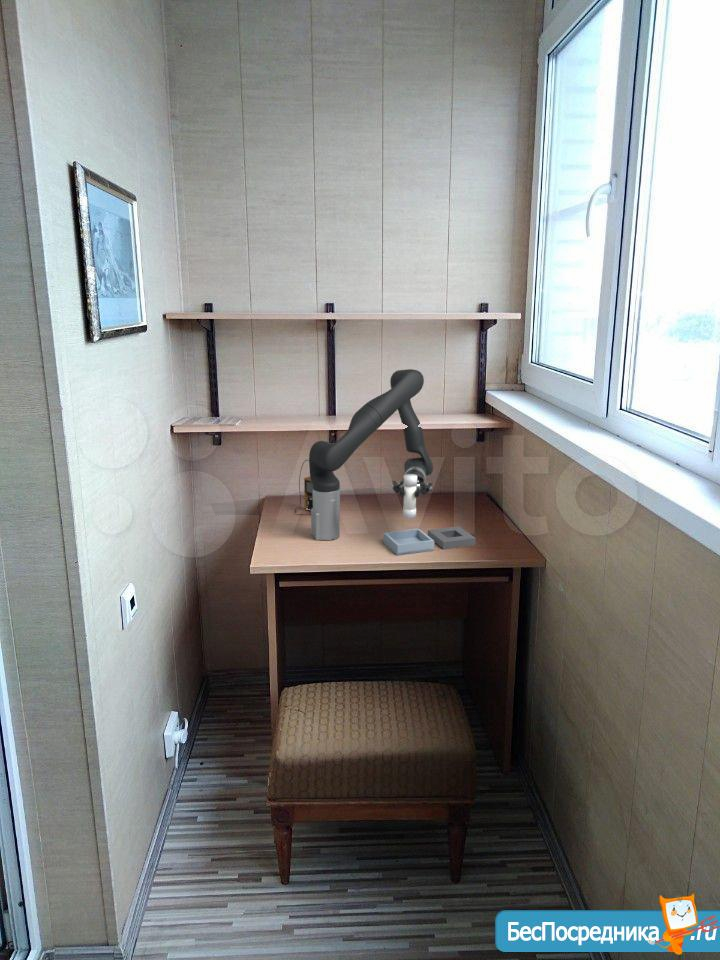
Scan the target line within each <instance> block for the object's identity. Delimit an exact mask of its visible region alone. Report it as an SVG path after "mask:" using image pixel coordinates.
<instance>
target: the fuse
mask: <svg viewBox="0 0 720 960" xmlns="http://www.w3.org/2000/svg"><path fill="white" fill-rule="evenodd" d="M403 477H404V496H403V507H402V518H404V519H409V520H412V519H417V498H415V491H416V486H417V475H415V474H405V473H404V474H403Z"/></svg>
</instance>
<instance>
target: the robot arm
mask: <svg viewBox="0 0 720 960" xmlns="http://www.w3.org/2000/svg"><path fill="white" fill-rule="evenodd" d="M389 382H390V389H389V390H387V391H385V392H384V393H382V394H379V395H378V396H376V397H374V398H373V399H370V400H369V401H368V402H366V403H365V404H364V405H362V406H361V407H360V408H359V409H358V410H357V411H356V412H355V413H354V414H353V416H352V417H351V420H350V422H349V427H348V429H347V431H346V432H345V433H344V435H342V436H341V437H340V438H339V439H338V440H336V441H335V442H333V443H332V442H329V441H326V440H319V441H316V442H314V443H313V444H312V445H311V447H310V450H309V453H308V454H309V455H308V460H309V461H308V462H309V464H308V465H309V466H308V467H309V477H310V479H311V482H312V485H313V508H312V509H311V511H310V515H311V516H310V521H311V522H310V523H311V524H310V528H311V529H310V530H311V533H310V534H311V536H312V535H313V536H312V537H313V538H314V539H315V541H319V540H320V541H332V539H334V540H337V539H338V538H340V533H341V532H340V531H341V529H340V528H341V527H340V525H341V523H340V522H341V521H340V520H341V519H340V518H341V516H340V515H341V510H340V509H341V501H340V499H341V485H340V480H339V478H338V477H337V476H336V475H335V474H334V472H335V471H338V470H339V469H340V468H342V466H343V465H344V464H345V463H346V462H347V461H348V460H349V458H350V457H351V456H352V455H353V454H354V452H355V451H356V450H357V449H358V448H359V447H360V446H361V445H362V444H363V443H365V441H367V440H368V438H369V437H370V436H371V435H373V434H374V433H375V432H376V431H377V430H378V429H379V428H381V426H383V424H384V423H385V422H386V421H387V420H388V419H389V418H390V417H392V415H393V414H395V413H396V412H398V414H399V418H400V421H401V424H402V423H403V424H405V425H407V426H408V427H407V428H405V429H403V428H402V432H403V436H404V438H403V439H404V443H405V444H404V445H405V450H406V451H407V452H408V453H413V454H417V455H420V457H412V458H409V459H406V460H405V461H404V465H403V466H404V467H403V469H404V472H405V473H404V475H405V474H415V475H417V486H416V491H415V498H416V499H418V497H420V496H421V494H422V495H423V496H426V495H427V494H429V493H431V492H432V491H433V482H428V483H426V477H428V476H430V475H431V474H433V472H434V464H433V462H432V459H431V457H430V456H429V453H428V451H427V448H426V442H425V436H424V431H423V427H422V428H421V427H418V425H419V424H420V423H421V422H420V420H419V418H418V415H416V413H415V410H414V408H413V405H412V401H411V399H412V398H413V397H415V396H416V395H417V394H419V393H420V392H421V390H422V389H423V387H424V383H425V378H424V375H423V374H422V372H421V371H419V370H417V369H413V368H411V369H409V368H408V369H398V370H396V371H394V372H393V373H392V375H391V376H390V379H389ZM391 487H392V488H391V489H393V491H394V493H395V494H398V495H399V496H400V497H401V498H404V476H403V477H402V480H401V481H400V482H398V481H396V480H393V481H392V485H391ZM336 538H337V539H336Z"/></svg>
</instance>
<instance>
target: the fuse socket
mask: <svg viewBox="0 0 720 960" xmlns="http://www.w3.org/2000/svg"><path fill="white" fill-rule="evenodd" d="M427 535H428V536H429V537H430V538H431V539H433V540H434V544H436V546H439V547H440V548H441V549H442V550H449V549H456V548H463V547H469V546H475V545H476V537H475V536H474V535H472V534H471V533H470V532H468V531H466V530H465V529H463V528H462V527H461V526H459V525H457V526H449V527H442V528H435V529H434V528H433V529H428V530H427Z"/></svg>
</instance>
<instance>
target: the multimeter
mask: <svg viewBox="0 0 720 960" xmlns="http://www.w3.org/2000/svg"><path fill="white" fill-rule="evenodd" d="M306 461H308V462H309V459H305V460H304V461H303V463H302V465H301V467H300V472H299V475H301V472H302V469H303V467H304V464H305V462H306ZM300 479H301V476H299V479H298V490H299V492H301V488H300V485H301V484H300V481H301V480H300ZM303 479H304V480H303V483H304V485H303V487H304V488H303V489H304V490H303V491H304V493H303V494H304V509H305V508H308V509H310V510H311V509H312V508H313V485H312V482H311V479H310V476H307V477H304V478H303ZM301 499H302V497H301V495H299V506H300V505H301V504H302V501H301Z"/></svg>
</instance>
